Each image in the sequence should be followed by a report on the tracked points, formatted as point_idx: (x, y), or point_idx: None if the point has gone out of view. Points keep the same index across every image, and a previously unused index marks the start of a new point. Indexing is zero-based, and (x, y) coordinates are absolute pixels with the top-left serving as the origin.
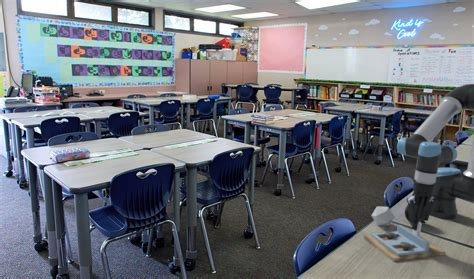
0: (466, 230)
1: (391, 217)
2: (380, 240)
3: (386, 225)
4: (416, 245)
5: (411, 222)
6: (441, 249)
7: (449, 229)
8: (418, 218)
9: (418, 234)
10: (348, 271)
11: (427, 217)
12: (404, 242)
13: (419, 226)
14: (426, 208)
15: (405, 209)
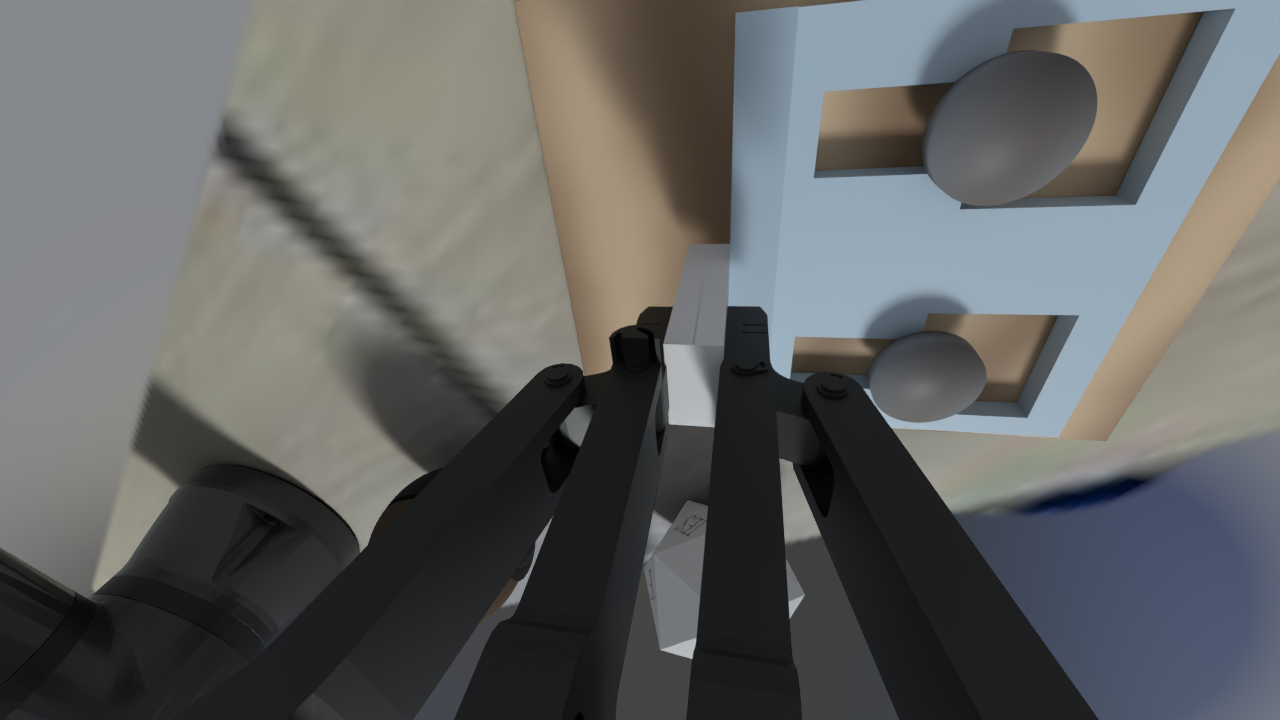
0: (179, 345)
1: (689, 554)
2: (1123, 322)
3: (707, 505)
4: (800, 150)
5: None
6: (529, 62)
7: (289, 378)
8: (744, 409)
9: (708, 264)
10: None
11: (541, 401)
12: (974, 187)
13: (706, 318)
14: (483, 570)
15: (512, 591)
